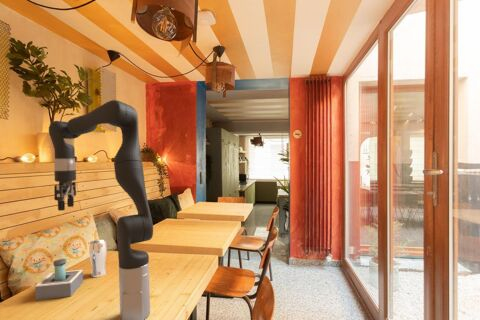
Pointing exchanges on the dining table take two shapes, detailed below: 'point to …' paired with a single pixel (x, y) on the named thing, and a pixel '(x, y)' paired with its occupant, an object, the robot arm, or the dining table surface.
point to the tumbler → (98, 257)
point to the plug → (60, 270)
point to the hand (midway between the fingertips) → (66, 208)
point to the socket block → (59, 285)
